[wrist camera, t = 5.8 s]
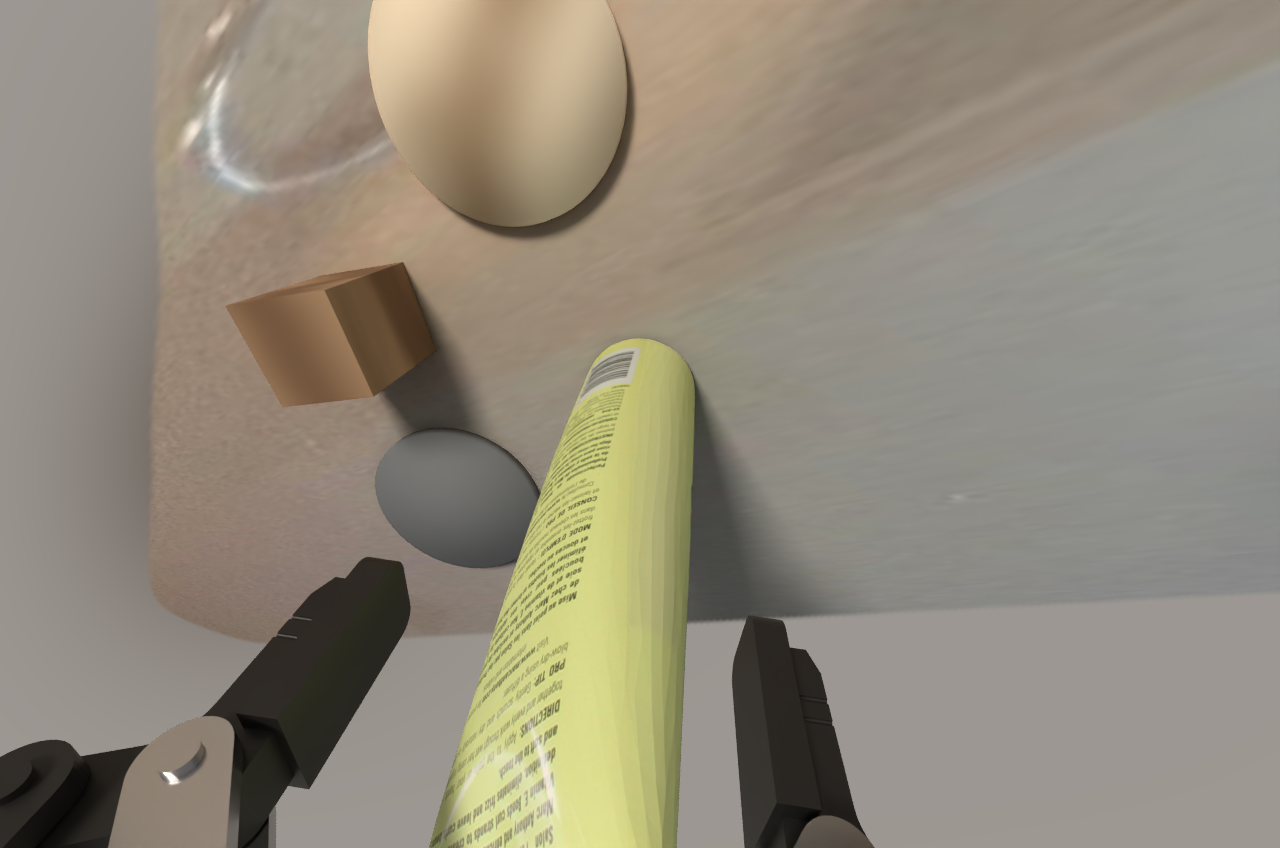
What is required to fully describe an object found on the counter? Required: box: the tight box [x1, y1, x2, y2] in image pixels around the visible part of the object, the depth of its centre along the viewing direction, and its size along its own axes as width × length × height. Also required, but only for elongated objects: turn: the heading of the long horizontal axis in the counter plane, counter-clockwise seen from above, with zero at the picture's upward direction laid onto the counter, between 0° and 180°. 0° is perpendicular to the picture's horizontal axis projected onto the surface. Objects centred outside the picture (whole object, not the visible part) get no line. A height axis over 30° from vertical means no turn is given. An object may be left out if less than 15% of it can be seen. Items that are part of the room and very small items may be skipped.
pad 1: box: [368, 0, 627, 227], centre depth 17 cm, size 9×9×1 cm
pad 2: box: [375, 428, 540, 568], centre depth 26 cm, size 9×9×1 cm
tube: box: [429, 339, 695, 848], centre depth 14 cm, size 6×5×20 cm
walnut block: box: [226, 262, 436, 407], centre depth 20 cm, size 4×4×5 cm
